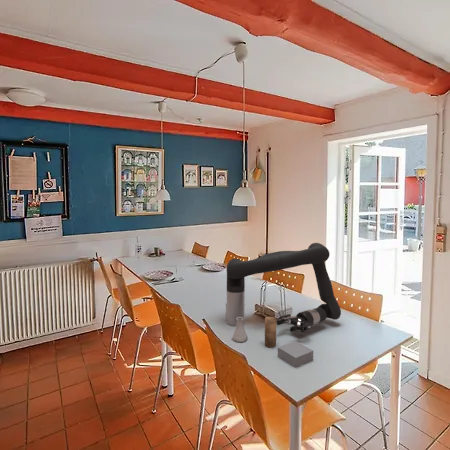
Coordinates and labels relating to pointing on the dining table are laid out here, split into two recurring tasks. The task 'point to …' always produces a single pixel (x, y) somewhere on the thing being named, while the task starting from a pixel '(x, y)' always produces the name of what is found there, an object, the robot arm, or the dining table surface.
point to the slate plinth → (295, 353)
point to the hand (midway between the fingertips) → (283, 326)
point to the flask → (239, 331)
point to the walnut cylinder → (270, 332)
